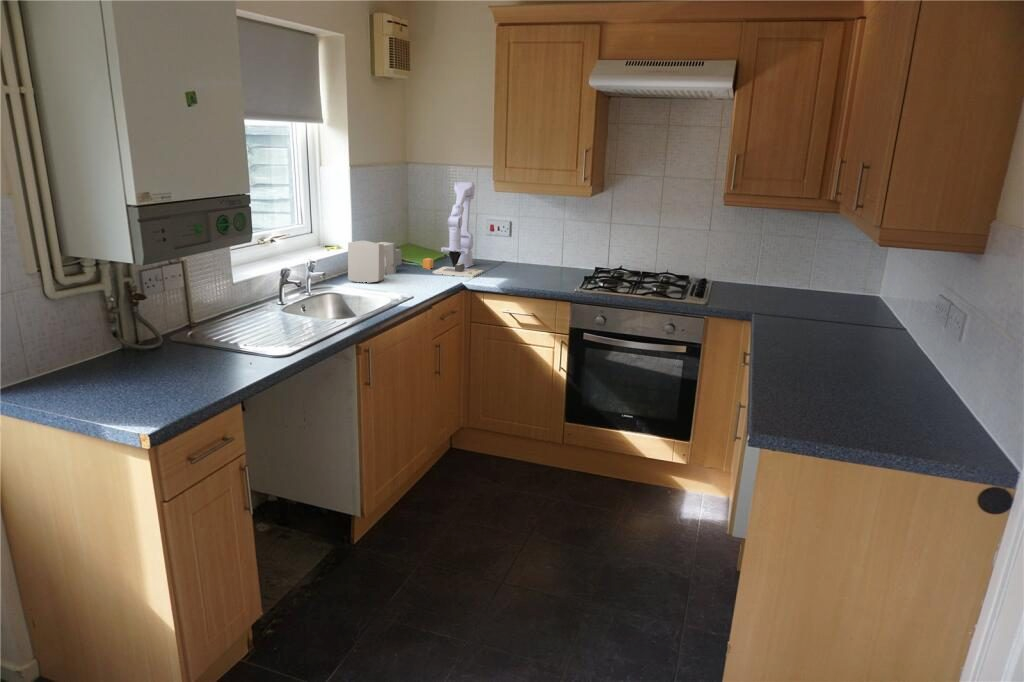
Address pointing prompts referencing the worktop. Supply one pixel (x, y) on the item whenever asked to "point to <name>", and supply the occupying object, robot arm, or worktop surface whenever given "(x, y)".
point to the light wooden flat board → (457, 272)
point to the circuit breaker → (391, 257)
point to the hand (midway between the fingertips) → (455, 266)
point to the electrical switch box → (365, 261)
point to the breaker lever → (459, 267)
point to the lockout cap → (427, 263)
